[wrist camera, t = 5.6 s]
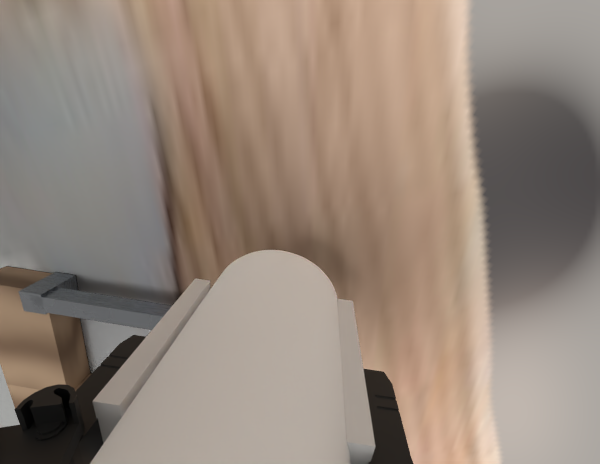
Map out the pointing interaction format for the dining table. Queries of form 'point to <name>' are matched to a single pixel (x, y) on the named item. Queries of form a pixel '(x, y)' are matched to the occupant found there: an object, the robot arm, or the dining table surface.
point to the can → (245, 375)
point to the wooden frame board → (37, 341)
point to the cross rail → (88, 303)
